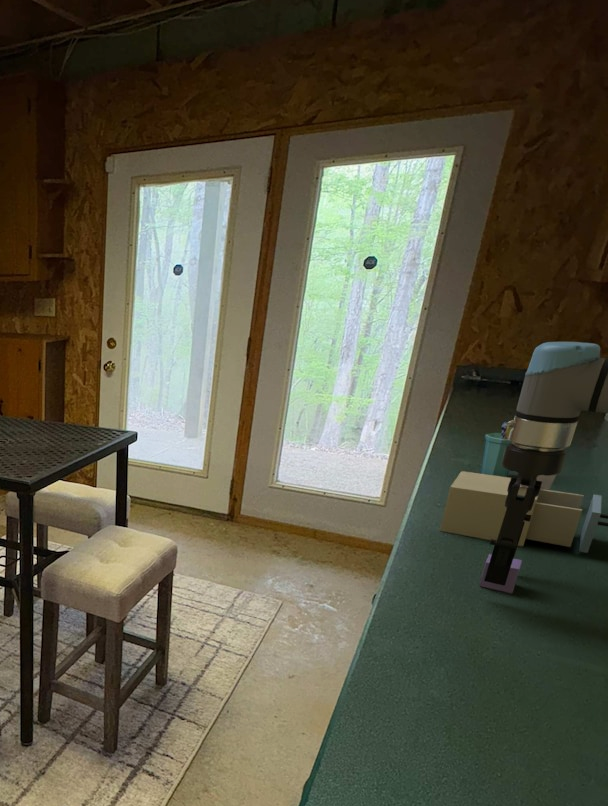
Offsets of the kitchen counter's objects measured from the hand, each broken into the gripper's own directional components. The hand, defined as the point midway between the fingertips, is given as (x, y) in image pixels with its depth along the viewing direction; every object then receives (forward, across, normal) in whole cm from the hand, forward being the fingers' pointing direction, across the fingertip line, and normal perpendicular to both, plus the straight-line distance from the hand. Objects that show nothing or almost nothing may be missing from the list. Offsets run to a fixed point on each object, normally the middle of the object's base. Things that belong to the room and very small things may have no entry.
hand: (499, 568), depth 105 cm
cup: (+3, -71, -8) cm, 71 cm away
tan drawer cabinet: (+3, -29, -5) cm, 30 cm away
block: (+3, 0, 0) cm, 3 cm away
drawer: (+2, -29, +7) cm, 30 cm away
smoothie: (+3, -52, +1) cm, 52 cm away
